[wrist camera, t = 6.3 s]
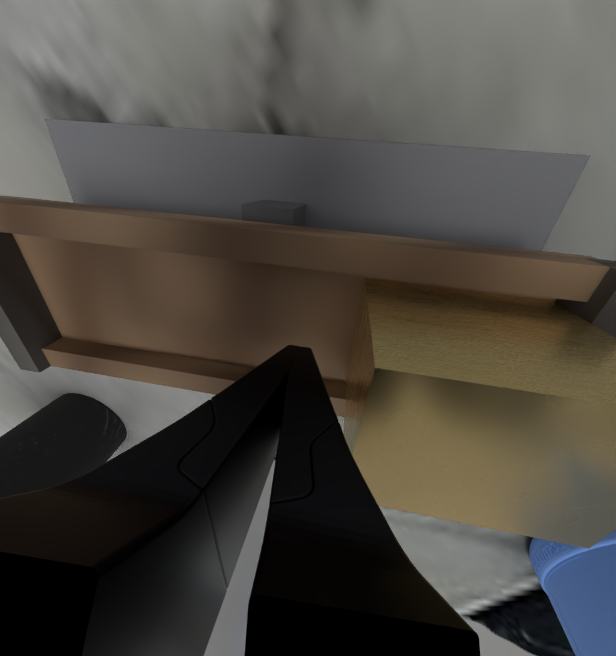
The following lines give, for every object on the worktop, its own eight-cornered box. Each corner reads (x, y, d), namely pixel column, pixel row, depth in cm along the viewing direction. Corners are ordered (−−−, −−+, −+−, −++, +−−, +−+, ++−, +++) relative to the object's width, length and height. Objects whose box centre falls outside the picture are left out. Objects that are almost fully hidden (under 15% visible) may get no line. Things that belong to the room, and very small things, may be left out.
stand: (574, 157, 10) (669, 147, 7) (455, 396, 17) (478, 444, 14) (61, 122, 13) (-35, 102, 10) (133, 342, 19) (90, 373, 16)
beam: (591, 253, 8) (673, 278, 6) (494, 408, 12) (525, 458, 10) (2, 192, 10) (-89, 195, 8) (71, 340, 14) (20, 369, 12)
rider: (552, 300, 8) (765, 427, 4) (492, 398, 11) (588, 548, 6) (365, 277, 9) (375, 367, 5) (346, 375, 11) (340, 497, 7)
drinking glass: (212, 450, 24) (50, 750, 12) (270, 437, 22) (148, 798, 9) (251, 491, 27) (154, 775, 14) (307, 483, 24) (252, 817, 12)
